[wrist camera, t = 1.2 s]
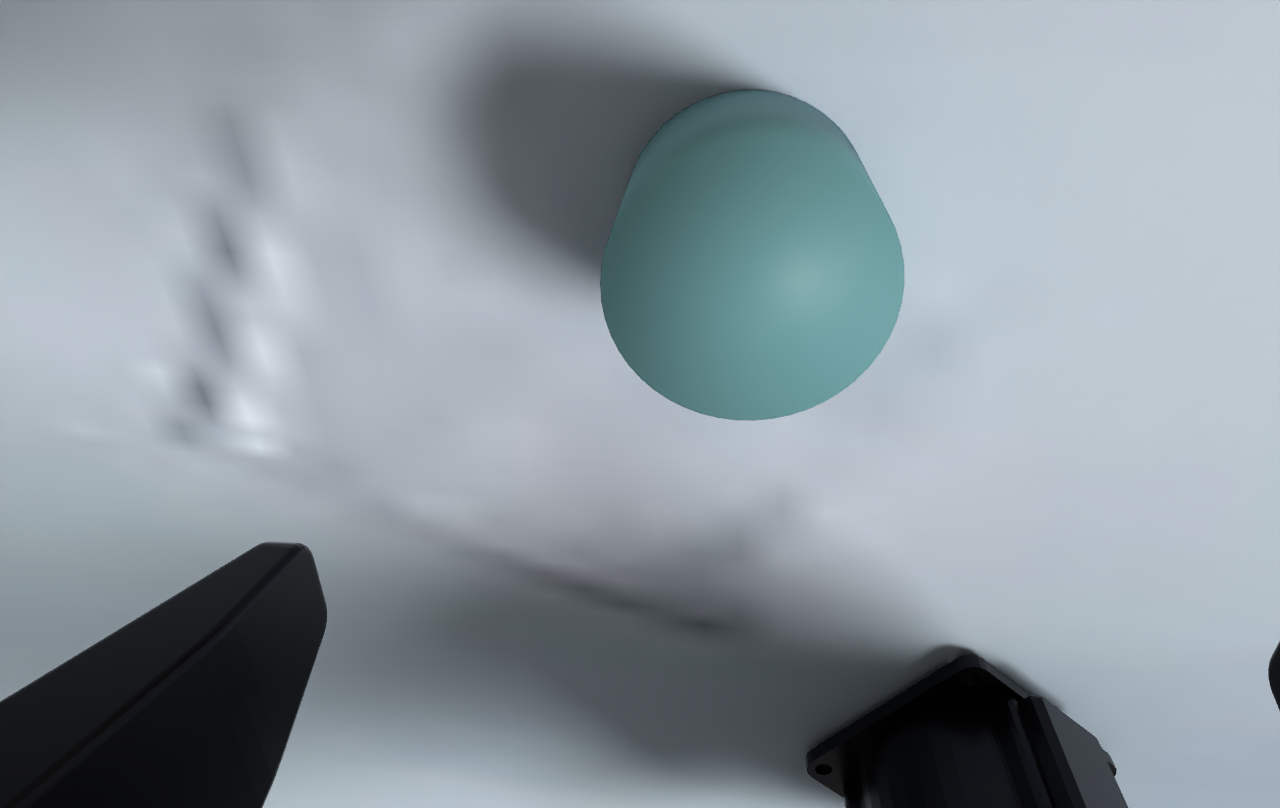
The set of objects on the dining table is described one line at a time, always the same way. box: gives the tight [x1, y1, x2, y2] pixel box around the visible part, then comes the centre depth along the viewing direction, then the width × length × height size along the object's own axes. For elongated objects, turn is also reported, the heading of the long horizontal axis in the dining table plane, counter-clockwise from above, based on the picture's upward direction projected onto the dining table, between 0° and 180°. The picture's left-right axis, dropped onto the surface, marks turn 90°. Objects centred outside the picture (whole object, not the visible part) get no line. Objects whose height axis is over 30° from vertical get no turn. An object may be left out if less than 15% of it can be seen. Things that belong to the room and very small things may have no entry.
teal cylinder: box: [600, 90, 904, 420], centre depth 16 cm, size 5×5×4 cm
